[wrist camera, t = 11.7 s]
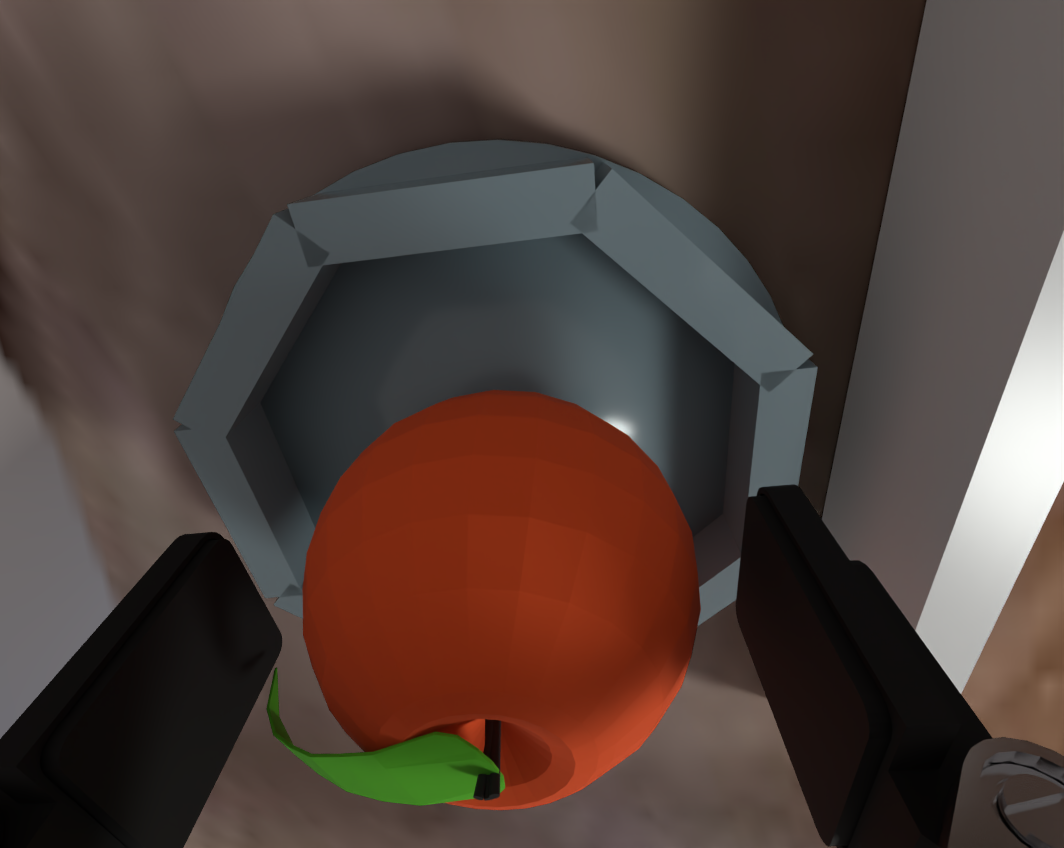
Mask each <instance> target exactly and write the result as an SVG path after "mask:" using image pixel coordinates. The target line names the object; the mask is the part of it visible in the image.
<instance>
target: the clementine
mask: <svg viewBox="0 0 1064 848" xmlns="http://www.w3.org/2000/svg"><path fill="white" fill-rule="evenodd" d="M302 591H303V636H304V639H305V643H306V647H307V650H308V654H309V657H310V661H311V664H312V667H313V670H314V672H315V675H316V678H317V680H318V683H319V685H320V688H321V690H322V693H323V695H324V698H325V700H326V703H327V705H328V708H329V710H330V711H331V713H332V714H333V716H334V717H335V718H336V720H337V721H338V722H339V724H340V725H341V727H342V728H343V729H344V731H345V732H346V733H347V734H348V735H349V736H350V738H351V739H352V740H353V741H354V742H355V743H356V744H357V745H358V746H359V747H360V748H361V749H362V750H363V751H364V752H360V753H344V754H311V753H309V752H307V751H305V750H302V749H300V748H298V747H296V746H294V745H293V743H292V741H291V739H290V737H289V735H288V733H287V731H286V729H285V727H284V725H283V723H282V721H281V719H280V717H279V700H278V675H277V667H276V668H275V670H274V675H273V680H272V685H271V690H270V694H269V699H268V704H267V713H268V716H269V720H270V724H271V728H272V732H273V735H274V736H275V737H276V738H277V739H278V740H279V741H280V742H281V743H283V744H284V745H285V746H286V747H287V748H288V749H289V750H290V751H291V752H292V753H293V754H295V755H296V756H297V757H298V758H299V759H301V760H302V761H303V762H304V763H306V764H307V765H308V766H309V767H310V768H312V769H313V770H314V771H315V772H317V773H318V774H319V775H321V776H322V777H324V778H325V779H327V780H329V781H330V782H332V783H334V784H335V785H337V786H338V787H340V788H342V789H343V790H345V791H347V792H350V793H354V794H357V795H361V796H365V797H368V798H372V799H376V800H380V801H384V802H393V803H401V804H410V805H419V806H422V805H429V804H437V803H447V804H451V805H457V806H462V807H468V808H473V809H488V810H510V809H524V808H530V807H535V806H539V805H544V804H548V803H552V802H554V801H556V800H559V799H561V798H564V797H566V796H569V795H571V794H573V793H575V792H577V791H580V790H582V789H583V788H585V787H586V786H588V785H589V784H591V783H592V782H593V781H595V780H596V779H598V778H599V777H601V776H602V775H603V774H605V773H606V772H607V771H609V770H610V769H612V768H613V767H614V766H616V765H617V764H618V763H620V762H621V761H623V760H624V759H625V758H627V757H628V756H629V755H631V754H632V753H634V752H635V751H636V750H638V749H639V748H640V747H641V745H642V744H643V743H644V742H645V740H646V739H647V738H648V737H649V735H650V734H651V733H652V732H653V730H654V729H655V728H656V726H657V725H658V723H659V722H660V720H661V718H662V717H663V715H664V714H665V712H666V710H667V709H668V707H669V706H670V704H671V702H672V701H673V699H674V698H675V696H676V694H677V693H678V691H679V689H680V688H681V686H682V683H683V680H684V677H685V674H686V671H687V668H688V664H689V661H690V658H691V655H692V650H693V645H694V640H695V636H696V631H697V626H698V621H699V616H700V612H701V605H700V593H699V582H698V571H697V564H696V557H695V550H694V543H693V536H692V531H691V529H690V527H689V525H688V523H687V521H686V519H685V516H684V514H683V512H682V510H681V508H680V506H679V504H678V502H677V500H676V498H675V496H674V494H673V492H672V490H671V489H670V487H669V485H668V483H667V481H666V480H665V478H664V476H663V474H662V473H661V471H660V469H659V467H658V466H657V465H656V464H655V463H654V462H653V461H652V460H651V459H650V457H649V456H648V455H647V454H646V453H645V452H644V451H643V450H642V449H641V448H640V447H639V446H638V445H637V444H636V443H635V442H634V441H633V440H632V439H631V438H630V437H629V436H628V435H627V434H625V433H624V432H622V431H620V430H619V429H617V428H616V427H614V426H613V425H611V424H609V423H608V422H606V421H604V420H603V419H601V418H599V417H597V416H596V415H594V414H592V413H591V412H589V411H587V410H585V409H584V408H582V407H580V406H579V405H577V404H575V403H571V402H568V401H565V400H561V399H558V398H554V397H551V396H547V395H544V394H541V393H537V392H525V391H506V390H490V391H484V392H479V393H474V394H468V395H463V396H458V397H453V398H450V399H447V400H445V401H442V402H439V403H437V404H434V405H432V406H430V407H428V408H426V409H424V410H422V411H420V412H417V413H415V414H413V415H411V416H409V417H407V418H405V419H403V420H400V421H398V422H396V423H394V424H393V425H392V426H391V427H390V428H388V429H387V430H386V431H385V432H384V433H383V434H382V435H381V436H380V437H378V438H377V439H376V440H375V441H374V442H373V443H372V444H371V445H369V446H368V447H367V448H366V449H365V450H364V451H363V452H362V453H361V454H360V455H359V456H358V458H357V459H356V460H355V461H354V462H353V463H352V465H351V466H350V467H349V468H348V469H347V470H346V472H345V473H344V474H343V475H342V476H341V477H340V479H339V481H338V483H337V484H336V486H335V488H334V490H333V492H332V493H331V495H330V497H329V499H328V501H327V502H326V504H325V506H324V508H323V510H322V511H321V514H320V517H319V519H318V522H317V525H316V528H315V531H314V534H313V537H312V539H311V542H310V545H309V548H308V551H307V556H306V564H305V572H304V580H303V589H302Z"/></svg>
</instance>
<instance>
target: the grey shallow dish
mask: <svg viewBox="0 0 1064 848" xmlns="http://www.w3.org/2000/svg"><path fill="white" fill-rule="evenodd" d="M287 206H288V209H286V210H283V211H280V212H278V213H275V214H273V216H272V218H271V220H270V222H269V224H268V226H267V228H266V230H265V232H264V234H263V236H262V238H261V240H260V242H259V244H258V247H257V249H256V251H255V253H254V254H253V256H252V258H251V259H250V261H249V263H248V265H247V266H246V268H245V270H244V271H243V273H242V275H241V276H240V278H239V280H238V281H237V283H236V285H235V286H234V288H233V291H232V293H231V296H230V299H229V301H228V304H227V306H226V309H225V312H224V314H223V317H222V319H221V322H220V324H219V326H218V328H217V330H216V332H215V334H214V336H213V338H212V340H211V342H210V344H209V346H208V348H207V350H206V352H205V355H204V357H203V359H202V361H201V363H200V365H199V367H198V369H197V371H196V373H195V375H194V377H193V379H192V381H191V383H190V385H189V387H188V389H187V391H186V393H185V395H184V397H183V399H182V401H181V403H180V405H179V408H178V410H177V412H176V414H175V416H174V418H173V420H175V421H177V422H179V423H181V424H182V425H181V426H179V427H178V428H177V429H176V430H175V431H174V432H175V434H176V436H177V438H178V440H179V442H180V443H181V445H182V447H183V449H184V451H185V453H186V454H187V456H188V458H189V460H190V462H191V464H192V465H193V467H194V469H195V471H196V473H197V474H198V476H199V478H200V480H201V482H202V484H203V485H204V487H205V489H206V491H207V493H208V495H209V496H210V498H211V500H212V502H213V504H214V506H215V507H216V509H217V511H218V513H219V515H220V516H221V518H222V520H223V522H224V524H225V526H226V527H227V529H228V531H229V533H230V535H231V537H232V538H233V540H234V542H235V544H236V546H237V547H238V549H239V551H240V553H241V555H242V557H243V558H244V560H245V562H246V564H247V566H248V568H249V569H250V571H251V573H252V575H253V577H254V579H255V580H256V582H257V584H258V586H259V588H260V589H261V591H262V593H263V595H264V597H265V598H272V597H278V598H277V600H276V602H275V603H274V606H276V607H279V608H281V609H283V610H285V611H287V612H289V613H291V614H294V615H296V616H298V617H300V618H302V619H303V591H302V589H303V580H304V572H305V564H306V556H307V551H308V548H309V545H310V542H311V539H312V537H313V534H314V531H315V528H316V525H317V522H318V519H319V517H320V514H321V511H322V510H323V508H324V506H325V504H326V502H327V501H328V499H329V497H330V495H331V493H332V492H333V490H334V488H335V486H336V484H337V483H338V481H339V479H340V477H341V476H342V475H343V474H344V473H345V472H346V470H347V469H348V468H349V467H350V466H351V465H352V463H353V462H354V461H355V460H356V459H357V458H358V456H359V455H360V454H361V453H362V452H363V451H364V450H365V449H366V448H367V447H368V446H369V445H371V444H372V443H373V442H374V441H375V440H376V439H377V438H378V437H380V436H381V435H382V434H383V433H384V432H385V431H386V430H387V429H388V428H390V427H391V426H392V425H393V424H394V423H396V422H398V421H400V420H403V419H405V418H407V417H409V416H411V415H413V414H415V413H417V412H420V411H422V410H424V409H426V408H428V407H430V406H432V405H434V404H437V403H439V402H442V401H445V400H447V399H450V398H453V397H458V396H463V395H468V394H474V393H479V392H484V391H490V390H506V391H525V392H537V393H541V394H544V395H547V396H551V397H554V398H558V399H561V400H565V401H568V402H571V403H575V404H577V405H579V406H580V407H582V408H584V409H585V410H587V411H589V412H591V413H592V414H594V415H596V416H597V417H599V418H601V419H603V420H604V421H606V422H608V423H609V424H611V425H613V426H614V427H616V428H617V429H619V430H620V431H622V432H624V433H625V434H627V435H628V436H629V437H630V438H631V439H632V440H633V441H634V442H635V443H636V444H637V445H638V446H639V447H640V448H641V449H642V450H643V451H644V452H645V453H646V454H647V455H648V456H649V457H650V459H651V460H652V461H653V462H654V463H655V464H656V465H657V466H658V467H659V469H660V471H661V473H662V474H663V476H664V478H665V480H666V481H667V483H668V485H669V487H670V489H671V490H672V492H673V494H674V496H675V498H676V500H677V502H678V504H679V506H680V508H681V510H682V512H683V514H684V516H685V519H686V521H687V523H688V525H689V527H690V529H691V531H692V536H693V543H694V550H695V557H696V564H697V571H698V582H699V593H700V605H701V612H700V616H699V621H698V626H699V625H700V624H702V623H703V622H704V621H706V620H707V619H709V618H710V617H712V616H713V615H715V614H716V613H718V612H719V611H720V610H722V609H723V608H725V607H726V606H728V605H729V604H731V603H732V602H734V601H735V600H736V596H737V587H738V577H739V568H740V558H741V549H742V539H743V530H744V521H745V511H746V503H747V499H748V497H751V496H757V491H758V489H759V488H761V487H768V486H780V485H792V484H795V485H797V486H798V483H799V477H800V471H801V465H802V459H803V453H804V447H805V441H806V435H807V429H808V423H809V417H810V411H811V405H812V399H813V393H814V387H815V381H816V375H817V369H818V367H817V366H816V365H815V364H814V363H813V362H812V361H810V360H809V359H808V358H810V357H811V356H812V355H813V353H812V352H811V351H810V350H808V349H807V348H806V347H805V346H804V345H803V344H802V343H801V342H800V341H799V340H798V339H797V338H795V337H794V336H793V335H792V334H791V333H790V332H789V331H788V330H787V329H786V328H785V327H784V326H783V324H782V322H781V319H780V317H779V315H778V313H777V310H776V308H775V306H774V303H773V301H772V299H771V296H770V294H769V293H768V291H767V290H766V288H765V287H764V285H763V284H762V282H761V280H760V279H759V277H758V276H757V274H756V273H755V271H754V270H753V268H752V266H751V265H750V263H749V262H748V260H747V259H746V258H745V257H744V256H743V255H742V254H741V252H740V251H739V250H738V249H737V248H736V247H735V246H734V245H733V244H732V242H731V241H730V240H729V239H728V238H727V237H726V236H725V235H724V234H723V232H722V231H721V230H720V229H719V228H718V227H717V226H716V225H714V224H713V223H712V222H711V221H709V220H708V219H707V218H706V217H704V216H703V215H702V214H701V213H700V212H698V211H697V210H696V209H695V208H693V207H692V206H691V205H690V204H688V203H687V202H686V201H685V200H684V199H682V198H680V197H679V196H677V195H675V194H674V193H672V192H670V191H669V190H667V189H665V188H664V187H662V186H660V185H658V184H657V183H655V182H653V181H652V180H650V179H648V178H646V177H645V176H643V175H641V174H640V173H638V172H636V171H634V170H632V169H629V168H627V167H624V166H622V165H619V164H617V163H614V162H612V161H609V160H607V159H604V158H602V157H599V156H597V155H594V154H591V153H587V152H583V151H579V150H575V149H570V148H566V147H562V146H558V145H553V144H549V143H542V142H530V141H518V140H506V139H491V140H475V141H460V142H450V143H446V144H441V145H437V146H432V147H428V148H423V149H419V150H414V151H409V152H405V153H401V154H398V155H395V156H392V157H390V158H387V159H385V160H382V161H380V162H377V163H374V164H372V165H369V166H367V167H364V168H362V169H359V170H356V171H354V172H352V173H350V174H349V175H347V176H345V177H343V178H342V179H340V180H338V181H337V182H335V183H333V184H332V185H330V186H328V187H326V188H325V189H323V190H321V191H320V192H318V193H316V194H314V195H313V196H310V197H307V198H304V199H301V200H298V201H295V202H292V203H289V204H287Z"/></svg>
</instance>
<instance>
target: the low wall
mask: <svg viewBox="0 0 1064 848" xmlns="http://www.w3.org/2000/svg"><path fill="white" fill-rule="evenodd" d="M1063 482H1064V0H927V1H926V6H925V11H924V16H923V21H922V26H921V31H920V36H919V41H918V46H917V50H916V55H915V60H914V65H913V70H912V75H911V80H910V85H909V90H908V95H907V100H906V105H905V110H904V115H903V120H902V125H901V130H900V135H899V139H898V144H897V149H896V154H895V159H894V164H893V169H892V174H891V179H890V184H889V189H888V194H887V199H886V204H885V209H884V214H883V219H882V223H881V228H880V233H879V238H878V243H877V248H876V253H875V258H874V263H873V268H872V273H871V278H870V283H869V288H868V293H867V298H866V303H865V308H864V312H863V317H862V322H861V327H860V332H859V337H858V342H857V347H856V352H855V357H854V362H853V367H852V372H851V377H850V382H849V387H848V392H847V397H846V401H845V406H844V411H843V416H842V421H841V426H840V431H839V436H838V441H837V446H836V451H835V456H834V461H833V466H832V471H831V476H830V481H829V486H828V490H827V495H826V500H825V505H824V510H823V515H822V521H823V522H824V524H825V525H826V527H827V528H828V529H829V531H830V532H831V534H832V535H833V537H834V538H835V540H836V541H837V543H838V544H839V545H840V547H841V548H842V550H843V551H844V553H845V554H846V556H847V557H848V559H849V560H859V561H861V562H863V563H865V564H866V565H867V566H868V567H869V568H870V569H871V570H872V572H873V573H874V574H875V575H876V577H877V578H878V580H879V581H880V582H881V584H882V585H883V587H884V588H885V589H886V591H887V592H888V594H889V595H890V596H891V598H892V599H893V600H894V602H895V603H896V605H897V606H898V607H899V609H900V610H901V612H902V613H903V614H904V616H905V617H906V619H907V620H908V621H909V623H910V624H911V626H912V627H913V628H914V630H915V631H916V632H917V634H918V635H919V637H920V638H921V639H922V641H923V642H924V644H925V645H926V646H927V648H928V649H929V651H930V652H931V653H932V655H933V656H934V658H935V659H936V660H937V662H938V663H939V664H940V666H941V667H942V669H943V670H944V671H945V673H946V674H947V676H948V677H949V678H950V680H951V681H952V683H953V684H954V685H955V687H956V688H957V689H958V691H959V692H960V694H961V693H962V691H963V689H964V687H965V685H966V683H967V681H968V679H969V677H970V674H971V672H972V670H973V668H974V666H975V664H976V662H977V660H978V658H979V656H980V654H981V652H982V650H983V647H984V645H985V643H986V641H987V639H988V637H989V635H990V633H991V631H992V629H993V627H994V625H995V623H996V621H997V618H998V616H999V614H1000V612H1001V610H1002V608H1003V606H1004V604H1005V602H1006V600H1007V598H1008V596H1009V594H1010V591H1011V589H1012V587H1013V585H1014V583H1015V581H1016V579H1017V577H1018V575H1019V573H1020V571H1021V569H1022V567H1023V564H1024V562H1025V560H1026V558H1027V556H1028V554H1029V552H1030V550H1031V548H1032V546H1033V544H1034V542H1035V540H1036V538H1037V535H1038V533H1039V531H1040V529H1041V527H1042V525H1043V523H1044V521H1045V519H1046V517H1047V515H1048V513H1049V511H1050V508H1051V506H1052V504H1053V502H1054V500H1055V498H1056V496H1057V494H1058V492H1059V490H1060V488H1061V486H1062V484H1063Z"/></svg>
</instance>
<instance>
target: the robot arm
mask: <svg viewBox="0 0 1064 848" xmlns="http://www.w3.org/2000/svg"><path fill="white" fill-rule="evenodd" d="M736 614H737V619H738V623H739V626H740V628H741V631H742V634H743V636H744V639H745V642H746V644H747V647H748V649H749V652H750V655H751V657H752V660H753V663H754V665H755V668H756V670H757V673H758V676H759V678H760V681H761V684H762V686H763V689H764V691H765V694H766V697H767V699H768V702H769V705H770V707H771V710H772V712H773V715H774V718H775V720H776V723H777V726H778V728H779V731H780V733H781V736H782V739H783V741H784V744H785V747H786V749H787V752H788V754H789V757H790V760H791V762H792V765H793V768H794V770H795V773H796V775H797V778H798V781H799V783H800V786H801V789H802V791H803V794H804V796H805V799H806V802H807V804H808V807H809V810H810V812H811V815H812V818H813V820H814V823H815V825H816V828H817V830H818V833H819V835H820V837H821V839H822V840H823V842H824V843H825V844H826V845H827V846H837V848H1064V756H1062V755H1061V754H1059V753H1057V752H1055V751H1053V750H1051V749H1048V748H1045V747H1043V746H1040V745H1037V744H1035V743H1032V742H1029V741H1025V740H1019V739H1012V738H1006V737H1001V738H992V737H991V735H990V734H989V733H988V731H987V730H986V728H985V727H984V726H983V724H982V723H981V721H980V720H979V719H978V717H977V716H976V715H975V713H974V712H973V710H972V709H971V708H970V706H969V705H968V703H967V702H966V701H965V699H964V698H963V696H962V695H961V694H960V692H959V691H958V689H957V688H956V687H955V685H954V684H953V683H952V681H951V680H950V678H949V677H948V676H947V674H946V673H945V671H944V670H943V669H942V667H941V666H940V664H939V663H938V662H937V660H936V659H935V658H934V656H933V655H932V653H931V652H930V651H929V649H928V648H927V646H926V645H925V644H924V642H923V641H922V639H921V638H920V637H919V635H918V634H917V632H916V631H915V630H914V628H913V627H912V626H911V624H910V623H909V621H908V620H907V619H906V617H905V616H904V614H903V613H902V612H901V610H900V609H899V607H898V606H897V605H896V603H895V602H894V600H893V599H892V598H891V596H890V595H889V594H888V592H887V591H886V589H885V588H884V587H883V585H882V584H881V582H880V581H879V580H878V578H877V577H876V575H875V574H874V573H873V572H872V570H871V569H870V568H869V567H868V566H867V565H866V564H865V563H863V562H861V561H859V560H849V559H848V557H847V556H846V554H845V553H844V551H843V550H842V548H841V547H840V545H839V544H838V543H837V541H836V540H835V538H834V537H833V535H832V534H831V532H830V531H829V529H828V528H827V527H826V525H825V524H824V522H823V521H822V519H821V518H820V516H819V515H818V513H817V512H816V510H815V509H814V508H813V506H812V505H811V503H810V502H809V500H808V499H807V497H806V496H805V494H804V493H803V491H802V490H801V489H800V488H799V487H798V486H797V485H795V484H792V485H780V486H768V487H761V488H759V489H758V491H757V496H751V497H748V499H747V503H746V511H745V521H744V530H743V539H742V549H741V558H740V568H739V577H738V587H737V596H736ZM281 647H282V635H281V633H280V631H279V629H278V627H277V625H276V623H275V621H274V620H273V618H272V616H271V614H270V612H269V611H268V609H267V607H266V605H265V603H264V602H263V600H262V598H261V596H260V594H259V593H258V591H257V589H256V587H255V585H254V584H253V582H252V580H251V578H250V576H249V574H248V573H247V571H246V569H245V567H244V565H243V564H242V562H241V560H240V558H239V556H238V555H237V553H236V551H235V549H234V547H233V546H232V544H231V543H230V541H228V540H226V539H224V538H223V537H222V536H221V535H220V534H218V533H216V532H208V533H195V534H184V535H182V536H179V537H178V538H177V539H176V540H174V542H173V543H172V544H171V545H170V546H169V547H168V548H167V549H166V551H165V552H164V553H163V554H162V555H161V556H160V557H159V559H158V560H157V561H156V562H155V563H154V564H153V565H152V567H151V568H150V569H149V570H148V571H147V572H146V573H145V575H144V576H143V577H142V578H141V579H140V580H139V581H138V583H137V584H136V585H135V586H134V587H133V588H132V589H131V591H130V592H129V593H128V594H127V595H126V596H125V597H124V599H123V600H122V601H121V602H120V603H119V604H118V605H117V607H116V608H115V609H114V610H113V611H112V612H111V613H110V614H109V616H108V617H107V618H106V619H105V620H104V621H103V622H102V624H101V625H100V626H99V627H98V628H97V629H96V631H95V632H94V633H93V634H92V635H91V636H90V637H89V639H88V640H87V641H86V642H85V643H84V644H83V645H82V646H81V648H80V649H79V650H78V651H77V652H76V653H75V654H74V656H73V657H72V658H71V659H70V660H69V661H68V662H67V664H66V665H65V666H64V667H63V668H62V669H61V670H60V671H59V673H58V674H57V675H56V676H55V677H54V678H53V680H52V681H51V682H50V683H49V684H48V685H47V686H46V688H45V689H44V690H43V691H42V692H41V693H40V694H39V696H38V697H37V698H36V699H35V700H34V701H33V702H32V704H31V705H30V706H29V707H28V708H27V709H26V710H25V712H24V713H23V714H22V715H21V716H20V717H19V718H18V719H17V721H16V722H15V723H14V724H13V725H12V726H11V727H10V729H9V730H8V731H7V732H6V733H5V734H4V735H3V736H2V738H1V739H0V848H183V847H184V845H185V843H186V841H187V839H188V837H189V835H190V833H191V831H192V829H193V827H194V825H195V823H196V821H197V819H198V817H199V815H200V813H201V811H202V809H203V807H204V805H205V803H206V801H207V799H208V797H209V795H210V793H211V791H212V789H213V787H214V785H215V783H216V781H217V779H218V777H219V775H220V773H221V771H222V769H223V767H224V765H225V763H226V761H227V759H228V757H229V755H230V753H231V751H232V749H233V746H234V744H235V742H236V740H237V738H238V736H239V734H240V732H241V730H242V728H243V726H244V724H245V722H246V720H247V718H248V716H249V714H250V712H251V710H252V708H253V706H254V704H255V702H256V700H257V698H258V696H259V694H260V692H261V690H262V688H263V686H264V684H265V682H266V680H267V678H268V676H269V674H270V672H271V670H272V668H273V666H274V664H275V662H276V660H277V658H278V656H279V654H280V651H281Z"/></svg>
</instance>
